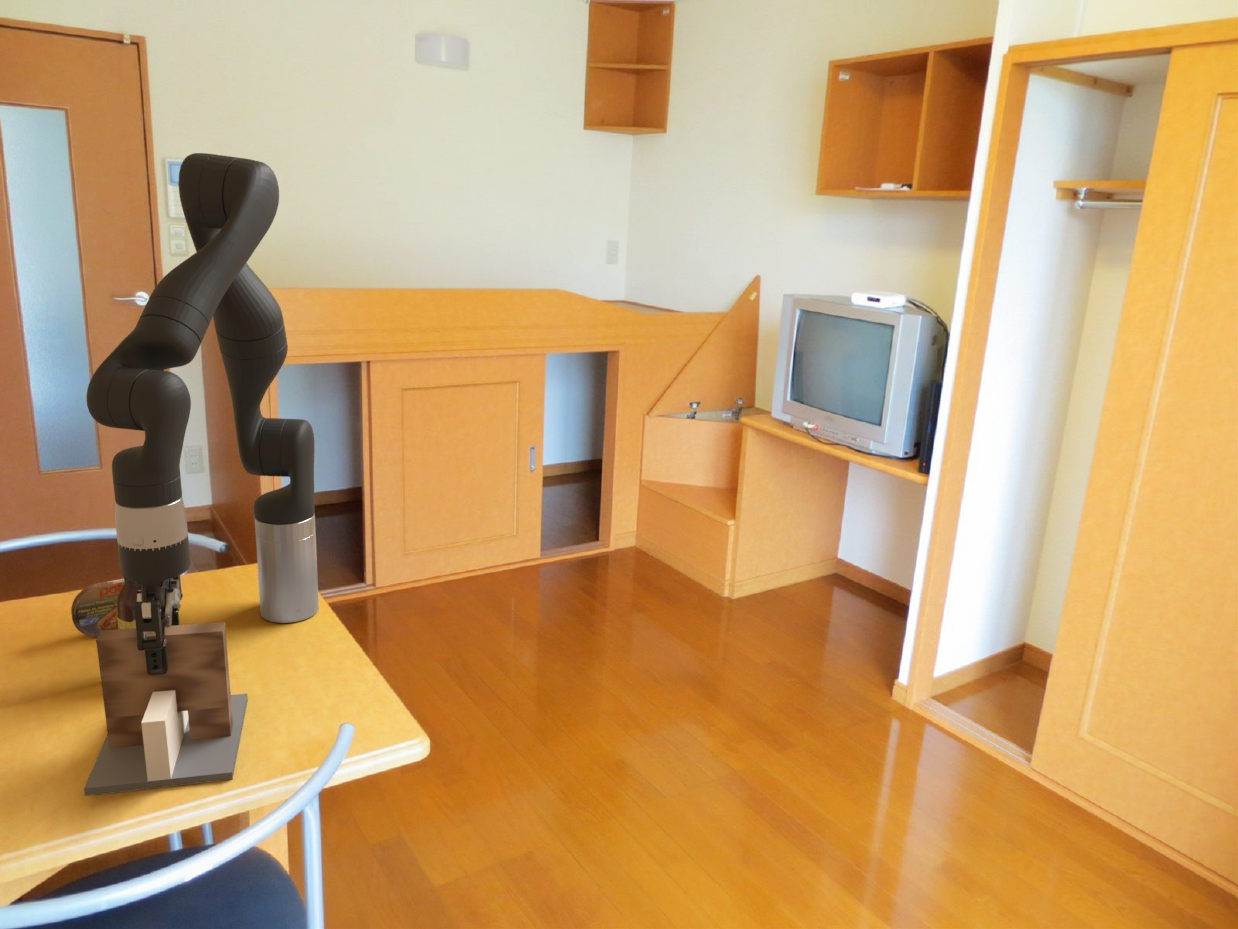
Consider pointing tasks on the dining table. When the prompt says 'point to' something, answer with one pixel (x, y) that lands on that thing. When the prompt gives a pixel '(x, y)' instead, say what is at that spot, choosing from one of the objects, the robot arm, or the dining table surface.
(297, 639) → the dining table surface
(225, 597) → the dining table surface
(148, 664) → the robot arm
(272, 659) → the dining table surface
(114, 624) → the tin
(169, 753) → the slotted stand
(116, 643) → the walnut plate
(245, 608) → the dining table surface
